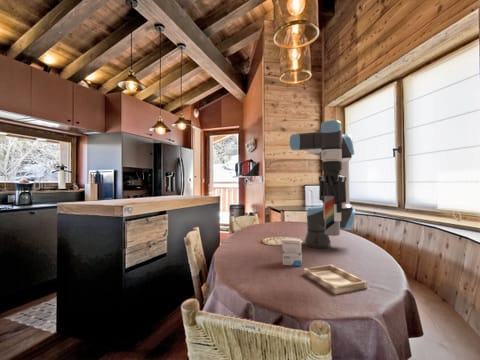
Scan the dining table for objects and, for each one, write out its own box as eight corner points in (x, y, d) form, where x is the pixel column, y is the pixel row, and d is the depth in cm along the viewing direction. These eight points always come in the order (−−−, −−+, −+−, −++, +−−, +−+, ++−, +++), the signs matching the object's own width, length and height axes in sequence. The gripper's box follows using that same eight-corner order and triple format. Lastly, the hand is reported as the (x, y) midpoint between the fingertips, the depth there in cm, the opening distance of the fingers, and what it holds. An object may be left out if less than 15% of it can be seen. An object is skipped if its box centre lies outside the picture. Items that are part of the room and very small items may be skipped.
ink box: (302, 263, 122) (301, 238, 121) (301, 266, 117) (300, 241, 117) (284, 261, 124) (283, 237, 124) (282, 264, 120) (281, 239, 120)
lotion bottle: (322, 233, 103) (321, 183, 103) (335, 232, 103) (335, 183, 103) (328, 236, 97) (327, 184, 97) (342, 235, 98) (341, 183, 97)
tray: (303, 274, 108) (303, 268, 108) (331, 269, 112) (331, 264, 112) (335, 294, 89) (335, 287, 89) (367, 288, 93) (367, 281, 93)
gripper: (309, 162, 108) (310, 216, 108) (339, 159, 90) (340, 224, 90) (324, 162, 110) (325, 215, 110) (356, 159, 92) (357, 222, 93)
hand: (332, 219), depth 100 cm, fingers closed on lotion bottle, 6 cm apart
